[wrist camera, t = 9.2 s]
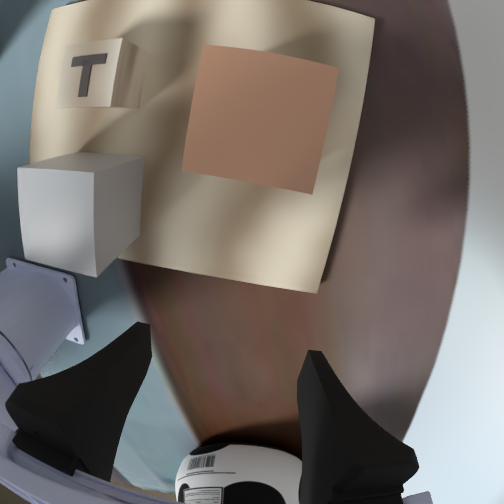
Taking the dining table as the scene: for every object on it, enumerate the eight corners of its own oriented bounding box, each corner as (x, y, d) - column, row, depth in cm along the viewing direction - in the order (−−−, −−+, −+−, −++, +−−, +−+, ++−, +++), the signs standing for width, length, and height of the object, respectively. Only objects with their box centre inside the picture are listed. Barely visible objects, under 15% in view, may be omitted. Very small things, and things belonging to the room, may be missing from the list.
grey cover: (76, 224, 21) (24, 259, 15) (77, 151, 18) (17, 167, 12) (139, 235, 21) (96, 277, 15) (144, 156, 18) (94, 172, 12)
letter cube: (89, 108, 17) (55, 108, 13) (98, 55, 15) (65, 45, 12) (139, 108, 17) (109, 106, 13) (148, 52, 16) (121, 37, 12)
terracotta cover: (209, 156, 18) (181, 170, 12) (224, 70, 16) (203, 44, 10) (297, 172, 18) (312, 194, 12) (315, 87, 16) (339, 68, 10)
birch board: (40, 236, 22) (34, 240, 21) (59, 11, 14) (52, 9, 13) (315, 286, 23) (316, 293, 22) (370, 23, 15) (375, 18, 14)
